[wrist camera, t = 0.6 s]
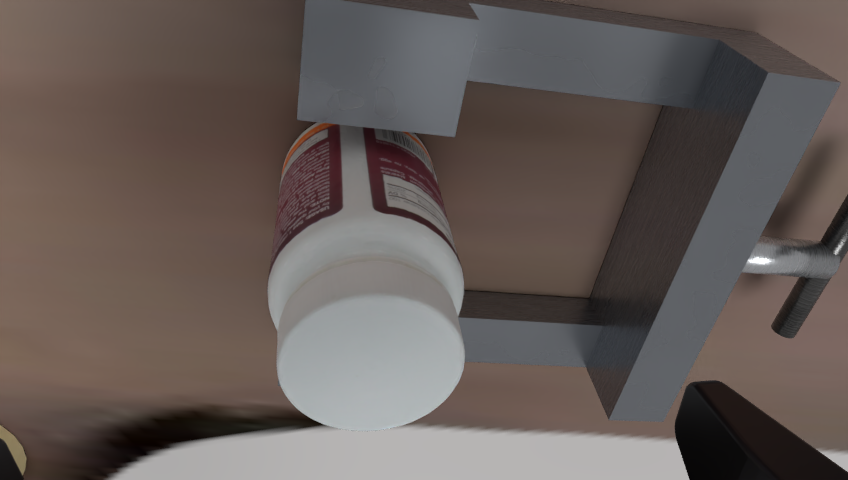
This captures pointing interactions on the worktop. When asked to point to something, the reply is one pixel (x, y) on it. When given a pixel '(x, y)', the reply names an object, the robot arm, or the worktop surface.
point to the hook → (14, 448)
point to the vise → (654, 185)
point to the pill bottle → (364, 280)
